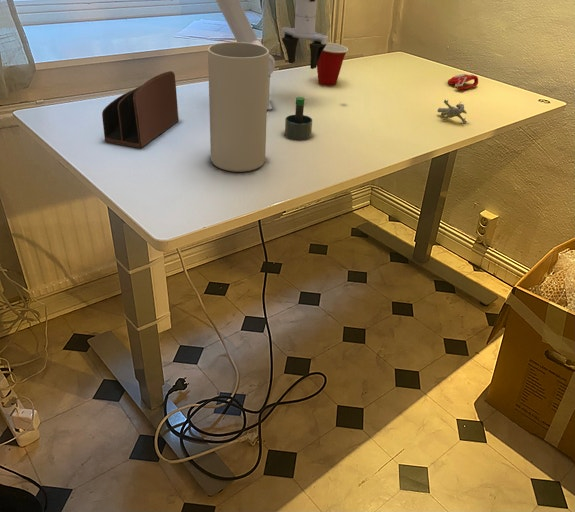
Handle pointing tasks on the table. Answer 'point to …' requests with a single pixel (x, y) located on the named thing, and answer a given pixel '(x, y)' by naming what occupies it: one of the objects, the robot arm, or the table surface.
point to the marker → (299, 110)
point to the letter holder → (142, 112)
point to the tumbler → (298, 128)
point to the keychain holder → (463, 78)
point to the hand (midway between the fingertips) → (302, 65)
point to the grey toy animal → (453, 111)
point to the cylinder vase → (238, 105)
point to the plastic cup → (330, 63)
